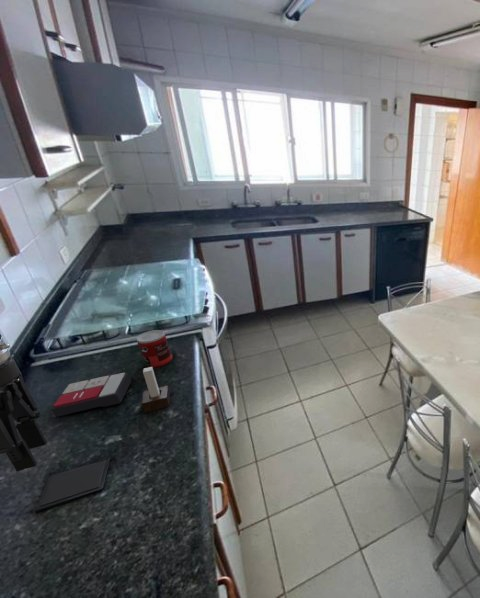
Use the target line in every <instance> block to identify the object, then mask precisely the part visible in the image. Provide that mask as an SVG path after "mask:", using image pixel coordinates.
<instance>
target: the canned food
mask: <svg viewBox="0 0 480 598" xmlns="http://www.w3.org/2000/svg"><path fill="white" fill-rule="evenodd" d="M136 342H137V346H138V348H139V350H140V353H141V355H142V358H143V360H144V363H145V365H146V366H147V368H149V367H152V368H153V369H155V368H160V367H164V366H166V365H168V364H169V363H171V362H172V361H173V354H172V350H171V348H170V345H169V342H168V338H167V336H166V333H165V332H164V330H161V329H153V330H147V331H145V332H142V333H141V334H139V335H138V336H137V337H136Z"/></svg>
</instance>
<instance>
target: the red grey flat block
mask: <svg viewBox="0 0 480 598" xmlns="http://www.w3.org/2000/svg"><path fill="white" fill-rule="evenodd" d="M131 384H132V379H131V377H130V375H129V373H128V371H126V372H120V373H115V374H111V375H103V376H99V377H95V378H91V379H90V380H89V379H86V380H82V381H77V382H73V383H69V384H68V385H67V387H66V388H65V389H64V391H63V392H62V393H61V395H60V396H59V397H58V399H57V400H56V401H55V402H54V404H53V406H52V407H51V411H52V413H53V414H54V416H55V417H62V416H67V415H70V414H71V415H72V414H74V413H79V412H84V411H87V410H90V409H91V410H92V409H95V408H99V407H100V408H101V407H106V408H107V407H110V406H115V405H119V404H121V403H122V402H123V399H124V397H125V395H126V394H127V391H128V389H129V387H130V385H131Z"/></svg>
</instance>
